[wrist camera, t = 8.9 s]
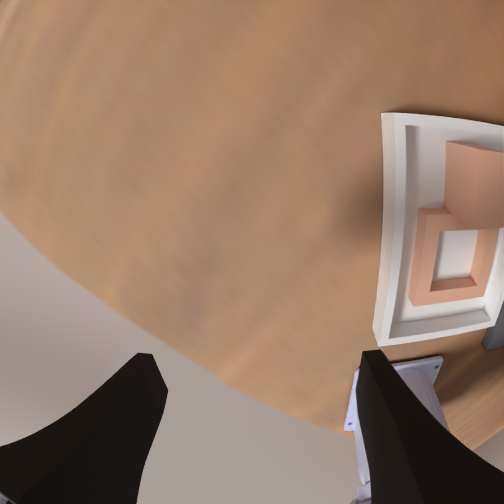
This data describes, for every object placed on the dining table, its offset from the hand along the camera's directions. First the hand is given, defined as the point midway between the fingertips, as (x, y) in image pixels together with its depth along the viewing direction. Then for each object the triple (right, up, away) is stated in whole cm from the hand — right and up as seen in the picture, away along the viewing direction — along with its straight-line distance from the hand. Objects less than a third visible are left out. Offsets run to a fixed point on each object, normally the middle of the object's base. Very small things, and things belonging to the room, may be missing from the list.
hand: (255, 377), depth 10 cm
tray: (+13, +6, +6) cm, 15 cm away
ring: (+13, +6, +6) cm, 15 cm away
